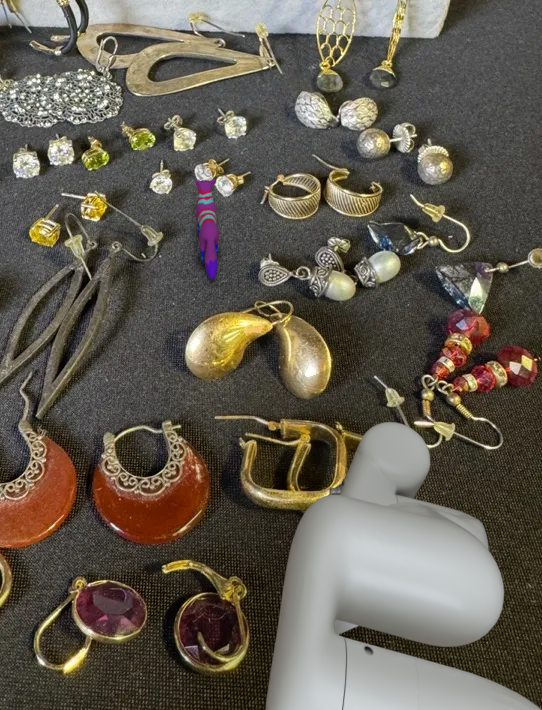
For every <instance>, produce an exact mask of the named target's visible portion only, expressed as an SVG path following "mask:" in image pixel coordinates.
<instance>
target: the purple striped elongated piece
mask: <svg viewBox="0 0 542 710" xmlns="http://www.w3.org/2000/svg"><path fill="white" fill-rule="evenodd" d="M216 182H217V178H213V179H211V180H208V179H202V180H199V179H194V184H195V185H196V187H197V192H198V196H197V204H196V206H195V219H196V224H197V230H196V231H195V233H196V235H197V236H198V240H199V248H200V258H199V263H200V264H204V268H205V271H206V274H207V276H208V278H209V279H210V280H214V279H215V278H216V276H217V273H218V250H219V240H220V230H219V226H218V225H217V206H216V203H215V201H214V196H213V187H214V186H215V184H216Z"/></svg>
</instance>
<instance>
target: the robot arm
mask: <svg viewBox="0 0 542 710" xmlns="http://www.w3.org/2000/svg"><path fill="white" fill-rule="evenodd" d="M430 468H431V454H430V450H429V447H428V445H427V443H426V441H425V439H424V438H423V437H422V436H421V435H420V434H419V433H418V432H417V431H416V430H414V429H413V428H412V427H410V426H408V425H405V424H403V423H400V422H395V421H385V422H381V423H377V424H375V425H374V426H371V427H370V428H369V429H367V431H365V433H364V434H363V436H362V437H361V439H360V441H359V444H358V445H357V448H356V450H355V453H354V455H353V457H352V461H351V463H350V466H349V467H348V470H347V472H346V476H345V478H342V480H341V483H339V484H337V485H336V486H335V487H329V490H328V491H329V493H328V495H324V496H322V497H320V498H317V499H316V500H315V501H314V502H313V503H312V504H310V506H308V507H307V508H306V510H305V512H304V514H303V515H302V516H301V518H300V520H299V522H298V524H297V527H296V529H295V532H294V535H293V538H292V541H291V545H290V549H289V553H288V559H287V564H286V568H285V573H284V574H285V575H284V581H283V587H282V589H283V590H282V595H281V603H280V609H279V617H278V623H277V629H276V636H275V643H274V648H273V656H272V660H271V661H272V662H271V668H270V674H269V682H268V685H267V686H268V687H267V695H266V702H265V710H542V709H541V708H540V707H539V706H538V705H536V704H535V703H534V702H533V701H531V700H530V699H528V698H527V697H525V696H523V695H521V694H519V693H518V692H516V691H515V690H512V689H511V688H508V687H506V686H504V685H502V684H499V683H498V682H495V681H493V680H491V679H488V678H485V677H482V676H480V675H479V674H476V673H472V672H469V671H466V670H463V669H459V668H456V667H452V666H448V665H444V664H442V663H438V662H434V661H430V660H428V659H423V658H420V657H417V656H414V655H410V654H406V653H403V652H399V651H395V650H391V649H387V648H384V647H380V646H377V645H373V644H369V643H366V642H362V641H359V640H355V639H351V638H348V637H344V636H341V635H340V634H339V635H338V634H336V633H335V619H336V620H340V621H344V622H348V623H351V624H355V625H358V626H357V627H363V628H366V629H370V630H374V631H377V632H381V633H384V634H388V635H392V636H395V637H399V638H403V639H405V640H409V641H413V642H417V643H421V644H425V645H429V646H434V647H442V648H453V647H454V648H455V647H461V646H466V645H470V644H472V643H474V642H477V641H479V640H480V639H482V638H484V637H485V636H486V635H487V634H488V633H489V632H490V631H491V630H492V629H493V628H494V626H495V625H496V624H497V622H498V621H499V618H500V617H501V614H502V611H503V608H504V607H503V606H504V601H505V600H504V599H505V587H504V581H503V577H502V574H501V571H500V568H499V566H498V563H497V562H496V560H495V558H494V556H493V555H492V553H491V552H490V551H489V550H490V548H489V542H488V536H487V532H486V529H485V527H484V525H483V523H482V521H481V520H479V519H478V518H477V517H475V516H472V515H470V514H468V513H466V512H464V511H461V510H459V509H454V508H450V507H447V506H443V505H439V504H436V503H432V502H429V501H424V500H420V499H416V498H415V497H416V495H417V493H418V492H419V490H420V488H421V487H422V485H423V483H424V482H425V480H426V478H427V476H428V474H429V471H430Z"/></svg>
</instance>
